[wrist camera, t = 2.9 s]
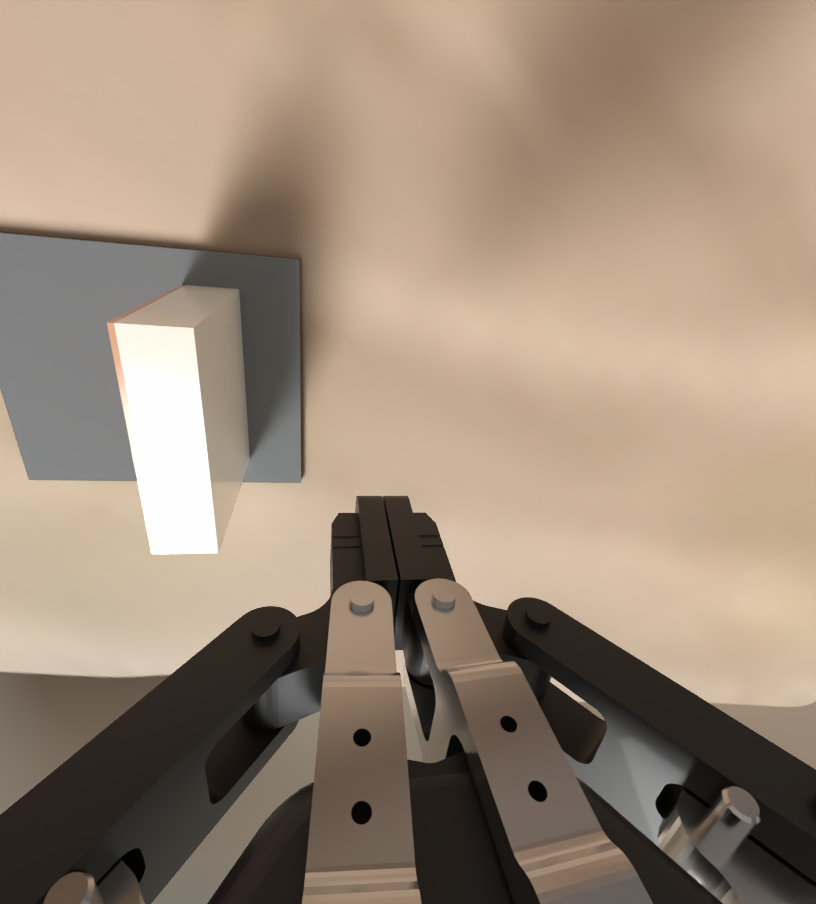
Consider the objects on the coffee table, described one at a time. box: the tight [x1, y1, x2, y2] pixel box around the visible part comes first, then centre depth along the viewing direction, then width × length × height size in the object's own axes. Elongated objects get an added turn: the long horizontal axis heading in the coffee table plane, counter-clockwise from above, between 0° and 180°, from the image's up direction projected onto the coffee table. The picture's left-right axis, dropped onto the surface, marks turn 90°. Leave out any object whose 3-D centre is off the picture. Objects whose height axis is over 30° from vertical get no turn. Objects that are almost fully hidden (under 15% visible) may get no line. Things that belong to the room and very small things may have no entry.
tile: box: [107, 285, 250, 554], centre depth 20 cm, size 2×9×8 cm, turn 174°
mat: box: [0, 232, 301, 483], centre depth 23 cm, size 14×12×1 cm
